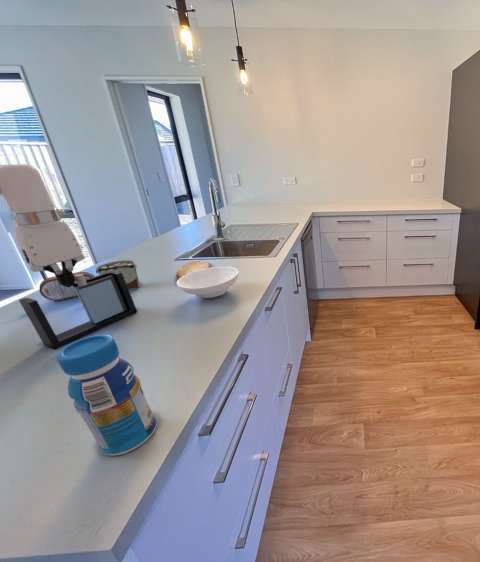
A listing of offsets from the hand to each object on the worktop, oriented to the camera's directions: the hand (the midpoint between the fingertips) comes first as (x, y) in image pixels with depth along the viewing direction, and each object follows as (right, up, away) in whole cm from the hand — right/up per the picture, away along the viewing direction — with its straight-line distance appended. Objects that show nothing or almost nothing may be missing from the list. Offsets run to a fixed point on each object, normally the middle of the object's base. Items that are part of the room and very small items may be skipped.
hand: (69, 285), depth 81 cm
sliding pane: (+2, -10, +10) cm, 14 cm away
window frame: (0, -13, +8) cm, 15 cm away
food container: (-12, -1, +34) cm, 36 cm away
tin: (-26, -5, +28) cm, 38 cm away
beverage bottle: (+38, -27, -27) cm, 54 cm away
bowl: (+25, -4, +27) cm, 37 cm away
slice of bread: (+6, +4, +46) cm, 47 cm away
